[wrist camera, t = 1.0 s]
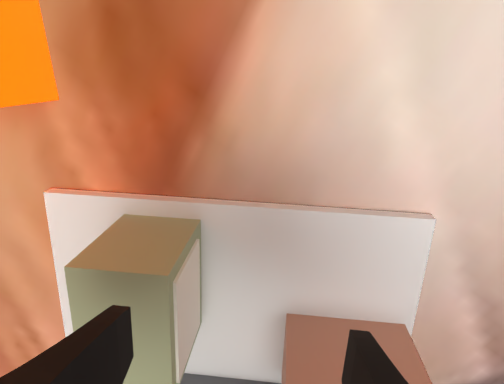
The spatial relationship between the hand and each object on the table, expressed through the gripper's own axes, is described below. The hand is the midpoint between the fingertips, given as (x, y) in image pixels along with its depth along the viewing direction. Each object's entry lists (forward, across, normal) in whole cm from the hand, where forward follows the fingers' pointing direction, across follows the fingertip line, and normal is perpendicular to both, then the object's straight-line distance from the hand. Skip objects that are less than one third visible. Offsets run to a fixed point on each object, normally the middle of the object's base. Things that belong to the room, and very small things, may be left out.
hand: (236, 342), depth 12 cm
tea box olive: (+9, +6, +3) cm, 11 cm away
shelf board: (+10, +2, +5) cm, 11 cm away
